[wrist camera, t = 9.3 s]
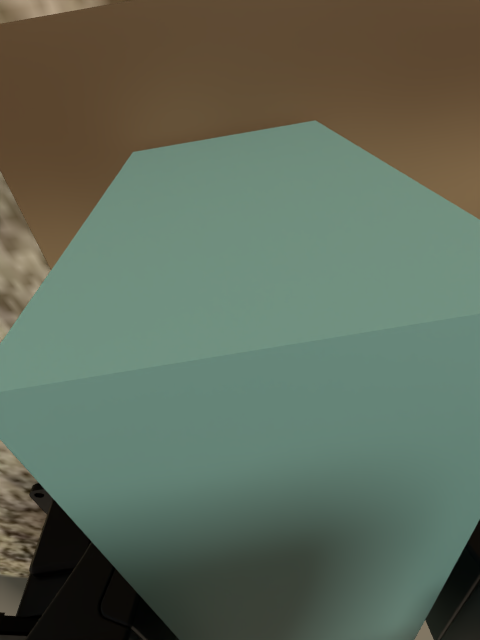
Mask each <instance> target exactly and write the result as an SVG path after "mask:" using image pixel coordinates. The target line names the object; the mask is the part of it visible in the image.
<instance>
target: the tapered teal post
mask: <svg viewBox="0 0 480 640" xmlns="http://www.w3.org/2000/svg"><path fill="white" fill-rule="evenodd" d="M0 440H1V441H2V442H3V443H4V444H5V445H6V446H7V448H8V449H9V450H10V451H11V452H12V453H13V454H14V455H15V456H16V458H17V459H18V460H19V461H20V462H21V463H22V464H23V465H24V467H25V468H26V469H27V470H28V471H29V472H30V473H31V474H32V475H33V477H34V478H35V479H36V480H37V481H38V482H39V483H40V484H41V486H42V487H43V488H44V489H45V490H46V491H47V492H48V493H49V494H50V496H51V497H52V498H53V499H54V500H55V501H56V502H57V503H58V505H59V506H60V507H61V508H62V509H63V510H64V511H65V512H66V513H67V515H68V516H69V517H70V518H71V519H72V520H73V521H74V522H75V524H76V525H77V526H78V527H79V528H80V529H81V530H82V531H83V532H84V534H85V535H86V536H87V537H88V538H89V539H90V540H91V541H92V543H93V544H94V545H95V546H96V547H97V548H98V549H99V550H100V551H101V553H102V554H103V555H104V556H105V557H106V558H107V559H108V560H109V562H110V563H111V564H112V565H113V566H114V567H115V568H116V569H117V570H118V572H119V573H120V574H121V575H122V576H123V577H124V578H125V579H126V581H127V582H128V583H129V584H130V585H131V586H132V587H133V588H134V589H135V591H136V592H137V593H138V594H139V595H140V596H141V597H142V598H143V600H144V601H145V602H146V603H147V604H148V605H149V606H150V607H151V608H152V610H153V611H154V612H155V613H156V614H157V615H158V616H159V617H160V619H161V620H162V621H163V622H164V623H165V624H166V625H167V626H168V627H169V629H170V630H171V631H172V632H173V633H174V634H175V635H176V636H177V638H178V639H179V640H414V639H415V637H416V636H417V634H418V632H419V630H420V628H421V626H422V625H423V623H424V621H425V619H426V617H427V616H428V614H429V612H430V610H431V608H432V606H433V604H434V603H435V601H436V599H437V597H438V595H439V593H440V592H441V590H442V588H443V586H444V584H445V582H446V581H447V579H448V577H449V575H450V573H451V571H452V569H453V568H454V566H455V564H456V562H457V560H458V558H459V557H460V555H461V553H462V551H463V549H464V547H465V546H466V544H467V542H468V540H469V538H470V536H471V534H472V533H473V531H474V529H475V527H476V525H477V523H478V522H479V520H480V220H479V219H478V218H476V217H474V216H473V215H471V214H469V213H468V212H466V211H465V210H463V209H461V208H460V207H458V206H456V205H455V204H453V203H451V202H450V201H448V200H446V199H445V198H443V197H441V196H440V195H438V194H436V193H435V192H433V191H431V190H430V189H428V188H426V187H425V186H423V185H421V184H420V183H418V182H417V181H415V180H413V179H412V178H410V177H408V176H407V175H405V174H403V173H402V172H400V171H398V170H397V169H395V168H393V167H392V166H390V165H388V164H387V163H385V162H383V161H382V160H380V159H378V158H377V157H375V156H374V155H372V154H370V153H369V152H367V151H365V150H364V149H362V148H360V147H359V146H357V145H355V144H354V143H352V142H350V141H349V140H347V139H345V138H344V137H342V136H340V135H339V134H337V133H335V132H334V131H332V130H330V129H329V128H327V127H326V126H324V125H322V124H321V123H319V122H317V121H316V120H315V121H309V122H303V123H298V124H292V125H286V126H280V127H275V128H269V129H263V130H257V131H251V132H246V133H240V134H234V135H228V136H223V137H217V138H211V139H205V140H200V141H194V142H188V143H182V144H176V145H171V146H165V147H159V148H153V149H148V150H142V151H136V152H133V153H132V154H131V156H130V157H129V158H128V160H127V161H126V163H125V164H124V166H123V167H122V169H121V170H120V171H119V173H118V174H117V176H116V177H115V179H114V180H113V182H112V183H111V185H110V186H109V187H108V189H107V190H106V192H105V193H104V195H103V196H102V198H101V199H100V200H99V202H98V203H97V205H96V206H95V208H94V209H93V211H92V212H91V213H90V215H89V216H88V218H87V219H86V221H85V222H84V224H83V225H82V226H81V228H80V229H79V231H78V232H77V234H76V235H75V237H74V238H73V239H72V241H71V242H70V244H69V245H68V247H67V248H66V250H65V251H64V252H63V254H62V255H61V257H60V258H59V260H58V261H57V263H56V264H55V266H54V267H53V268H52V270H51V271H50V273H49V274H48V276H47V277H46V279H45V280H44V281H43V283H42V284H41V286H40V287H39V289H38V290H37V292H36V293H35V294H34V296H33V297H32V299H31V300H30V302H29V303H28V305H27V306H26V307H25V309H24V310H23V312H22V313H21V315H20V316H19V318H18V319H17V320H16V322H15V323H14V325H13V326H12V328H11V329H10V331H9V332H8V334H7V335H6V336H5V338H4V339H3V341H2V342H1V344H0Z"/></svg>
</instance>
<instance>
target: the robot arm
mask: <svg viewBox="0 0 480 640" xmlns="http://www.w3.org/2000/svg"><path fill="white" fill-rule="evenodd" d="M29 495H30V497H31V498H32V499H33V500H34V501H35V502H36V503H37V504H38V505H39V507H40V508H41V509H42V510H43V511H44V512H45V513H46V514H47V517H46V520H45V523H44V526H43V529H42V532H41V535H40V538H39V541H38V544H37V547H36V550H35V553H34V556H33V559H32V562H31V565H30V570H29V571H30V574H29V577H28V580H27V584H26V587H25V590H24V593H23V596H22V599H21V602H20V605H19V608H18V611H17V614H16V616H5V615H4V614H5V613H1V612H0V640H179V639H178V638H177V636H176V635H175V634H174V633H173V632H172V631H171V630H170V629H169V627H168V626H167V625H166V624H165V623H164V622H163V621H162V620H161V619H160V617H159V616H158V615H157V614H156V613H155V612H154V611H153V610H152V608H151V607H150V606H149V605H148V604H147V603H146V602H145V601H144V600H143V598H142V597H141V596H140V595H139V594H138V593H137V592H136V591H135V589H134V588H133V587H132V586H131V585H130V584H129V583H128V582H127V581H126V579H125V578H124V577H123V576H122V575H121V574H120V573H119V572H118V570H117V569H116V568H115V567H114V566H113V565H112V564H111V563H110V562H109V560H108V559H107V558H106V557H105V556H104V555H103V554H102V553H101V551H100V550H99V549H98V548H97V547H96V546H95V545H94V544H93V543H92V541H91V540H90V539H89V538H88V537H87V536H86V535H85V534H84V532H83V531H82V530H81V529H80V528H79V527H78V526H77V525H76V524H75V522H74V521H73V520H72V519H71V518H70V517H69V516H68V515H67V513H66V512H65V511H64V510H63V509H62V508H61V507H60V506H59V505H58V503H57V502H56V501H55V500H54V499H53V498H52V497H51V496H50V494H49V493H48V492H47V491H46V490H45V489H44V488H43V487H42V486H41V484H40V483H38V484H35V485H33V486H32V489H31V491H30V494H29ZM425 620H426V622H427V625H428V627H429V629H430V632H431V634H432V636H433V639H434V640H480V520H479V522H478V523H477V525H476V527H475V529H474V531H473V533H472V534H471V536H470V538H469V540H468V542H467V544H466V546H465V547H464V549H463V551H462V553H461V555H460V557H459V558H458V560H457V562H456V564H455V566H454V568H453V569H452V571H451V573H450V575H449V577H448V579H447V581H446V582H445V584H444V586H443V588H442V590H441V592H440V593H439V595H438V597H437V599H436V601H435V603H434V604H433V606H432V608H431V610H430V612H429V614H428V616H427V617H426V619H425Z"/></svg>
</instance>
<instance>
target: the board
mask: <svg viewBox="0 0 480 640" xmlns="http://www.w3.org/2000/svg"><path fill="white" fill-rule="evenodd" d="M315 120H316V121H317V122H319V123H321V124H322V125H324V126H326V127H327V128H329V129H330V130H332V131H334V132H335V133H337V134H339V135H340V136H342V137H344V138H345V139H347V140H349V141H350V142H352V143H354V144H355V145H357V146H359V147H360V148H362V149H364V150H365V151H367V152H369V153H370V154H372V155H374V156H375V157H377V158H378V159H380V160H382V161H383V162H385V163H387V164H388V165H390V166H392V167H393V168H395V169H397V170H398V171H400V172H402V173H403V174H405V175H407V176H408V177H410V178H412V179H413V180H415V181H417V182H418V183H420V184H421V185H423V186H425V187H426V188H428V189H430V190H431V191H433V192H435V193H436V194H438V195H440V196H441V197H443V198H445V199H446V200H448V201H450V202H451V203H453V204H455V205H456V206H458V207H460V208H461V209H463V210H465V211H466V212H468V213H469V214H471V215H473V216H474V217H476V218H478V219H479V220H480V0H132V1H126V2H120V3H115V4H109V5H103V6H98V7H92V8H87V9H81V10H75V11H70V12H64V13H59V14H53V15H47V16H42V17H36V18H31V19H25V20H19V21H14V22H8V23H3V24H0V171H1V173H2V175H3V177H4V179H5V181H6V182H7V184H8V186H9V188H10V190H11V192H12V194H13V196H14V198H15V200H16V202H17V204H18V206H19V208H20V210H21V212H22V214H23V216H24V218H25V220H26V222H27V224H28V226H29V228H30V230H31V232H32V234H33V235H34V237H35V239H36V241H37V243H38V245H39V247H40V249H41V251H42V253H43V255H44V257H45V259H46V261H47V263H48V265H49V267H50V269H51V270H52V268H53V267H54V266H55V264H56V263H57V261H58V260H59V258H60V257H61V255H62V254H63V252H64V251H65V250H66V248H67V247H68V245H69V244H70V242H71V241H72V239H73V238H74V237H75V235H76V234H77V232H78V231H79V229H80V228H81V226H82V225H83V224H84V222H85V221H86V219H87V218H88V216H89V215H90V213H91V212H92V211H93V209H94V208H95V206H96V205H97V203H98V202H99V200H100V199H101V198H102V196H103V195H104V193H105V192H106V190H107V189H108V187H109V186H110V185H111V183H112V182H113V180H114V179H115V177H116V176H117V174H118V173H119V171H120V170H121V169H122V167H123V166H124V164H125V163H126V161H127V160H128V158H129V157H130V156H131V154H132V153H133V152H136V151H142V150H148V149H153V148H159V147H165V146H171V145H176V144H182V143H188V142H194V141H200V140H205V139H211V138H217V137H223V136H228V135H234V134H240V133H246V132H251V131H257V130H263V129H269V128H275V127H280V126H286V125H292V124H298V123H303V122H309V121H315Z"/></svg>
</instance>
